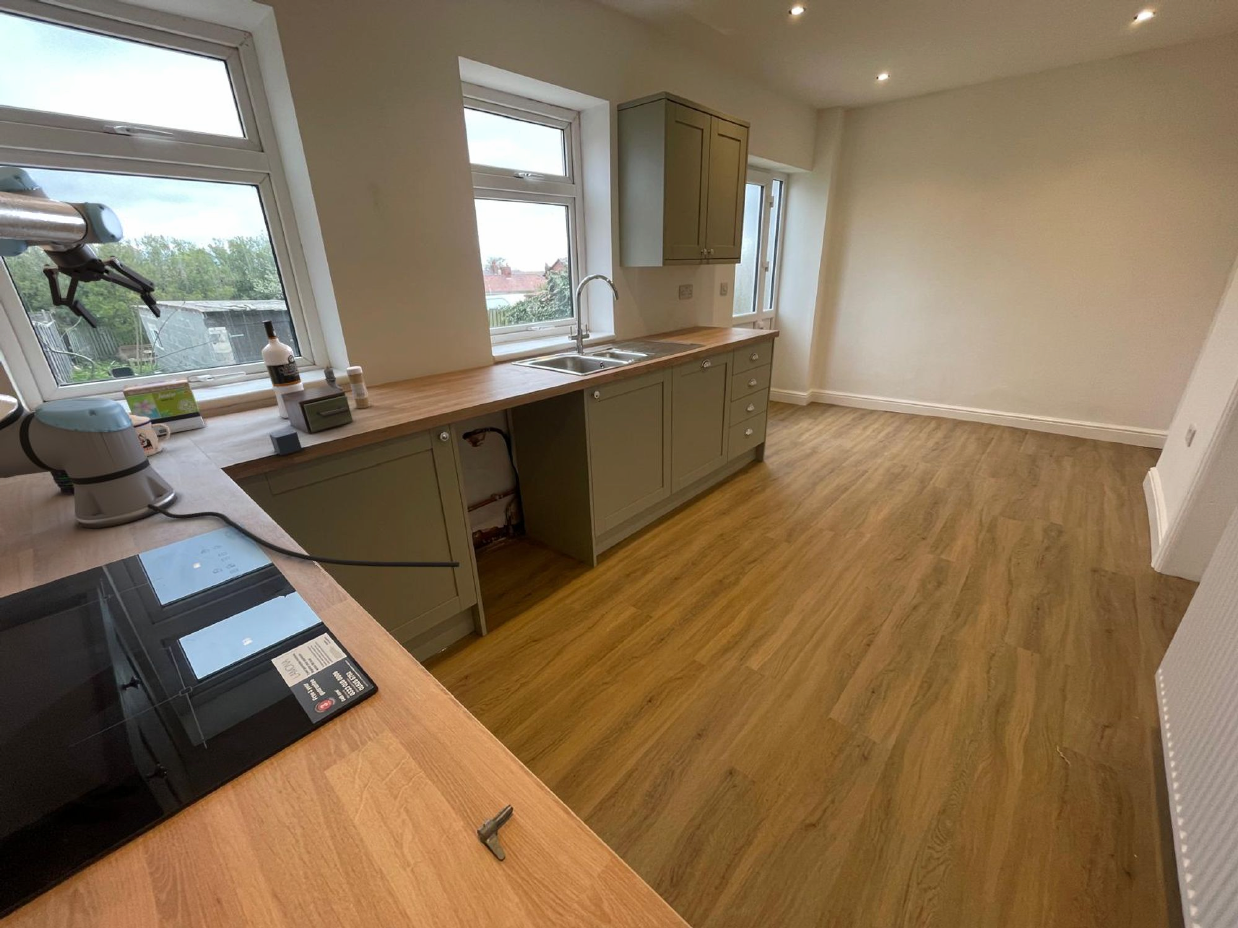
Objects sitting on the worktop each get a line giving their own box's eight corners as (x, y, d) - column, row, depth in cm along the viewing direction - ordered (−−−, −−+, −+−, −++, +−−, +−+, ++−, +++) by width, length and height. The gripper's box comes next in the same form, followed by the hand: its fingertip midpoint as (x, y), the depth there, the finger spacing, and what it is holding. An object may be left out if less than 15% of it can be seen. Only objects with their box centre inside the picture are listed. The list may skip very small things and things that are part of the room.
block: (302, 449, 133) (296, 432, 131) (281, 455, 130) (275, 437, 128) (295, 446, 136) (289, 428, 134) (274, 451, 133) (268, 434, 131)
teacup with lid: (116, 463, 130) (95, 420, 125) (123, 453, 137) (104, 412, 132) (174, 451, 136) (157, 410, 131) (178, 442, 143) (162, 403, 138)
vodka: (295, 410, 169) (266, 318, 158) (319, 410, 168) (292, 318, 156) (273, 418, 161) (241, 323, 149) (298, 419, 159) (267, 322, 147)
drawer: (360, 424, 149) (353, 398, 146) (319, 435, 141) (311, 408, 138) (334, 413, 160) (328, 389, 157) (295, 423, 152) (288, 398, 149)
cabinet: (352, 422, 154) (344, 391, 150) (308, 433, 145) (298, 401, 142) (333, 414, 163) (325, 385, 159) (290, 424, 154) (281, 394, 150)
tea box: (142, 440, 147) (120, 391, 141) (143, 432, 154) (121, 385, 148) (206, 427, 156) (187, 380, 150) (203, 420, 163) (186, 375, 157)
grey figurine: (339, 400, 178) (330, 367, 173) (323, 401, 178) (314, 368, 174) (348, 396, 184) (339, 363, 179) (332, 396, 184) (323, 364, 179)
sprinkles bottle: (372, 404, 172) (362, 365, 166) (369, 408, 168) (359, 368, 162) (358, 405, 171) (347, 366, 166) (354, 409, 167) (344, 369, 162)
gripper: (130, 227, 119) (184, 302, 136) (-6, 242, 111) (69, 320, 129) (127, 244, 116) (183, 319, 133) (-13, 261, 108) (65, 338, 125)
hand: (127, 319), depth 131 cm, fingers open, 13 cm apart
